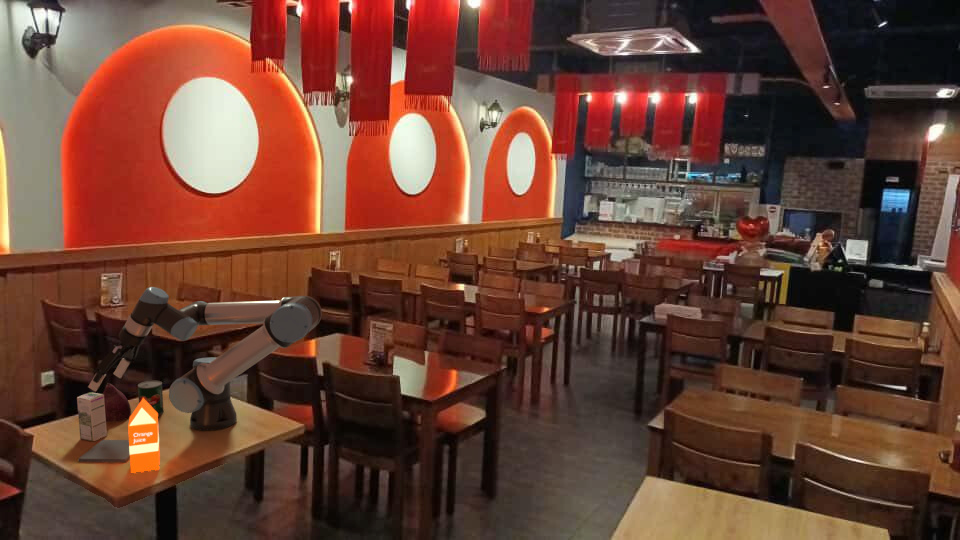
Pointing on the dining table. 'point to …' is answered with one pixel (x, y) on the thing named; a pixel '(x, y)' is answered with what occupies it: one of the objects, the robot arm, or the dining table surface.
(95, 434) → the syrup box
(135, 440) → the orange juice
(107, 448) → the mat
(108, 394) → the vegetable
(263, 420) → the dining table surface
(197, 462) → the dining table surface
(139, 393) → the canned tomato
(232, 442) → the dining table surface
